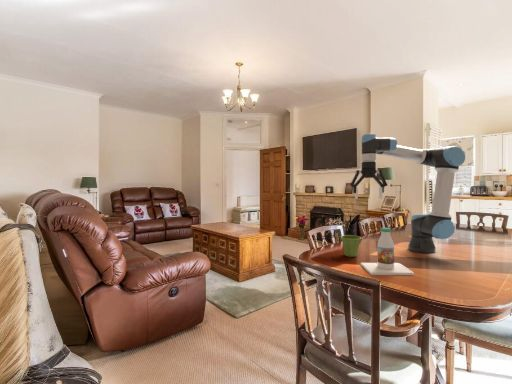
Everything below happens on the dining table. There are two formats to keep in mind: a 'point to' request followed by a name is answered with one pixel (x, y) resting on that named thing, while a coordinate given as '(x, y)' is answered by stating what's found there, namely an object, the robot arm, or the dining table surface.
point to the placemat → (397, 269)
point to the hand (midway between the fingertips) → (368, 198)
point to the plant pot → (350, 245)
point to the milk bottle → (385, 250)
